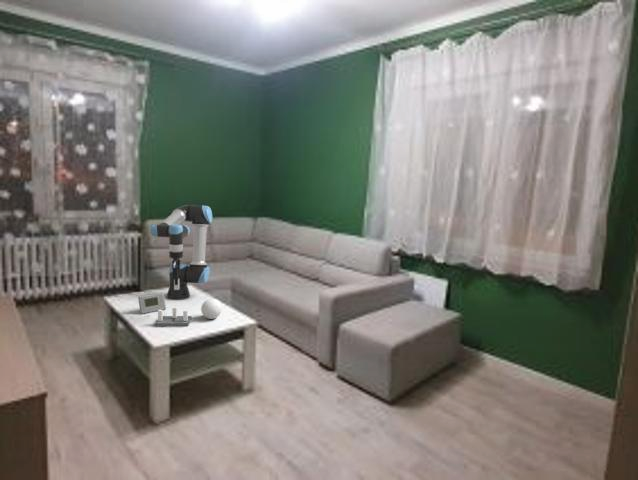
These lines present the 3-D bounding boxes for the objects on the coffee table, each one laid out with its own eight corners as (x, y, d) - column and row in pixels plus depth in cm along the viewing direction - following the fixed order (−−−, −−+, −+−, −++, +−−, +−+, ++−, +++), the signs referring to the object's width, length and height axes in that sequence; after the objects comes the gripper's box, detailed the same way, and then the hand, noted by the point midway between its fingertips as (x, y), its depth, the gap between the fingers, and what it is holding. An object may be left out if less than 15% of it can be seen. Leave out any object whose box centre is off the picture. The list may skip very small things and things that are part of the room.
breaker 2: (184, 319, 242) (184, 309, 241) (187, 319, 242) (187, 309, 241) (183, 321, 240) (183, 311, 239) (186, 321, 240) (186, 311, 239)
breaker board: (160, 319, 248) (160, 315, 247) (191, 319, 250) (191, 315, 250) (155, 326, 236) (155, 323, 236) (188, 326, 238) (188, 323, 238)
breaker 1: (159, 319, 240) (158, 309, 239) (162, 319, 240) (162, 309, 240) (157, 321, 238) (157, 311, 237) (161, 321, 238) (161, 311, 237)
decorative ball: (225, 317, 256) (225, 298, 254) (212, 323, 245) (212, 303, 243) (210, 313, 261) (210, 295, 259) (197, 319, 250) (197, 300, 248)
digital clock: (139, 315, 253) (139, 298, 251) (137, 310, 261) (136, 294, 259) (167, 311, 262) (167, 295, 260) (164, 307, 269) (164, 291, 268)
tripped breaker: (173, 316, 246) (173, 306, 245) (176, 316, 246) (176, 306, 245) (172, 318, 244) (172, 308, 243) (176, 318, 244) (176, 308, 243)
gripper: (171, 248, 250) (172, 286, 254) (167, 253, 237) (167, 292, 242) (184, 248, 251) (185, 286, 255) (180, 253, 239) (181, 292, 243)
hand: (176, 289), depth 249 cm, fingers closed
